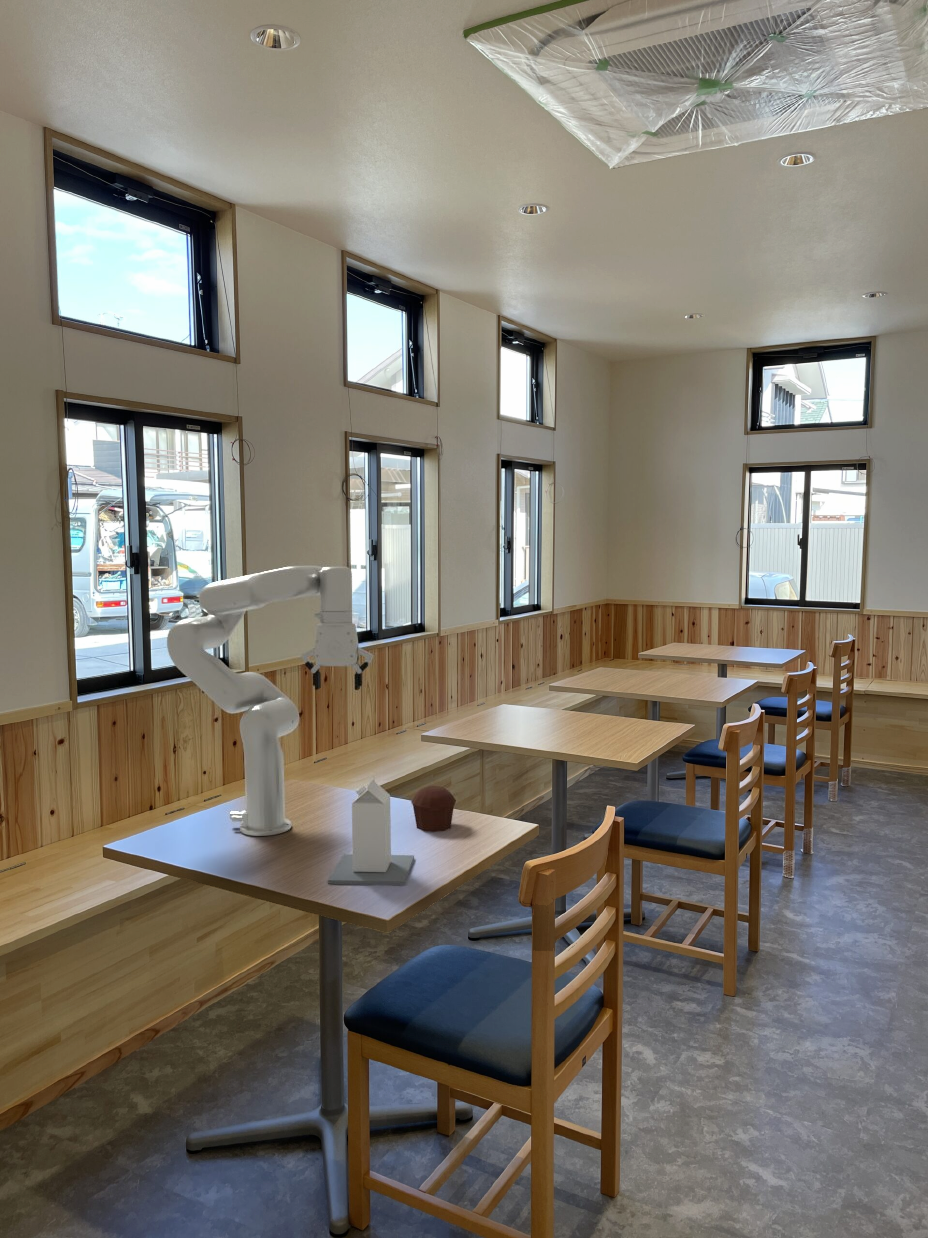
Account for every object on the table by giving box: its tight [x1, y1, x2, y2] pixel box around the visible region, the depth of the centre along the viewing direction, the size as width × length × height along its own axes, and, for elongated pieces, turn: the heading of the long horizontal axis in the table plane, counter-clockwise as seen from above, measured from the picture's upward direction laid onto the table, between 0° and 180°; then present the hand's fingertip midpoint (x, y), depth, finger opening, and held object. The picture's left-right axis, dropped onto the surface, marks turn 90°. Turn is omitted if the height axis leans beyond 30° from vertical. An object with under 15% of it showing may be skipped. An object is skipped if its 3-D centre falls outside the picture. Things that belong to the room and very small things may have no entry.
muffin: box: [410, 785, 457, 833], centre depth 223 cm, size 12×11×10 cm
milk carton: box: [351, 776, 392, 872], centre depth 191 cm, size 7×7×19 cm
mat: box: [327, 853, 415, 886], centre depth 192 cm, size 16×16×1 cm
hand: (337, 689), depth 213 cm, fingers open, 9 cm apart
